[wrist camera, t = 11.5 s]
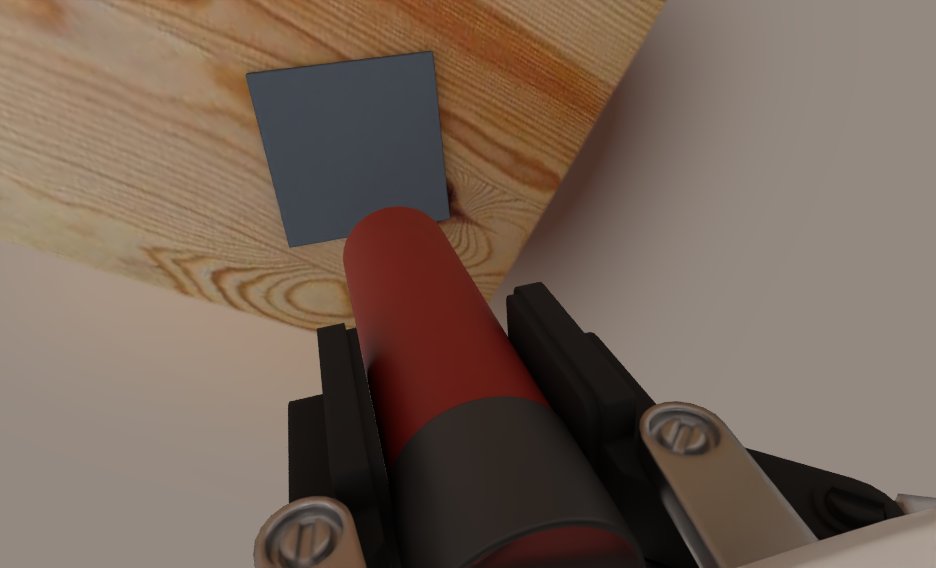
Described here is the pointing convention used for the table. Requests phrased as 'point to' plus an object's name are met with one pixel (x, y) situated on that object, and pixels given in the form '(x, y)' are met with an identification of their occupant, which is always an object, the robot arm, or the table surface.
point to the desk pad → (351, 142)
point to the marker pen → (467, 417)
